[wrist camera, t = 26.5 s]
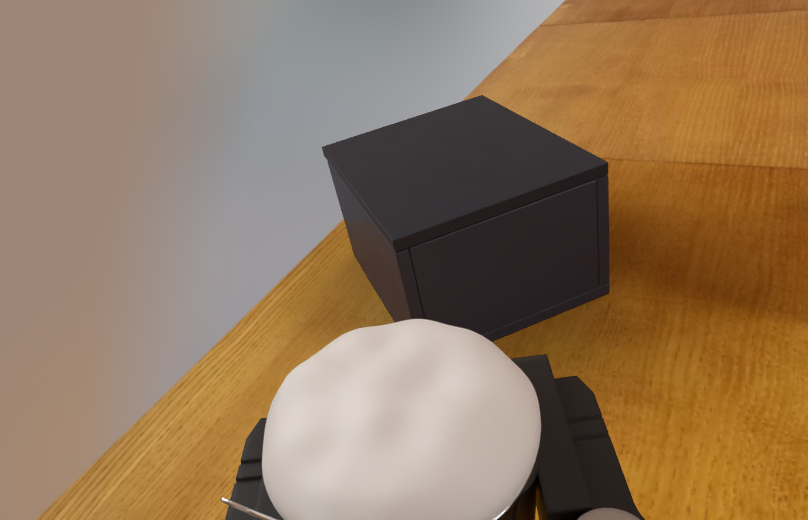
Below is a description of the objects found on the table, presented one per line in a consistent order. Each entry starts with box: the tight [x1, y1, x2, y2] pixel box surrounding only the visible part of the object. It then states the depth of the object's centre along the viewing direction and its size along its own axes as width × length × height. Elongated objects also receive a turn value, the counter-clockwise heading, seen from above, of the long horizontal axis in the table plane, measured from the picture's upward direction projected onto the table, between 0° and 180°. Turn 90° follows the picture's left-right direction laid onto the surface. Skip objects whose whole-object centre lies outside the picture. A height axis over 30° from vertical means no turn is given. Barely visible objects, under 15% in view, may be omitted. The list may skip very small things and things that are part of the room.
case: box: [328, 162, 609, 342], centre depth 43 cm, size 16×14×9 cm
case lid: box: [322, 95, 608, 252], centre depth 41 cm, size 16×14×1 cm
